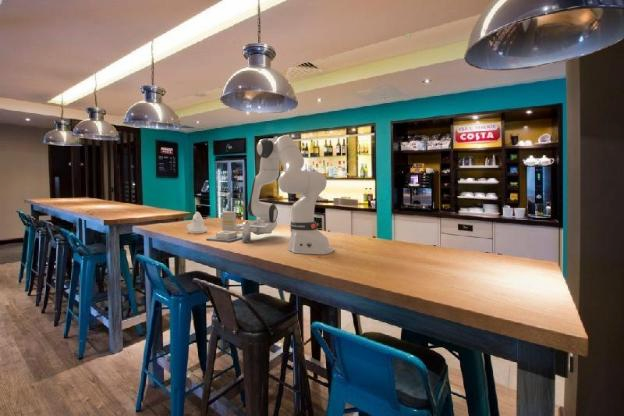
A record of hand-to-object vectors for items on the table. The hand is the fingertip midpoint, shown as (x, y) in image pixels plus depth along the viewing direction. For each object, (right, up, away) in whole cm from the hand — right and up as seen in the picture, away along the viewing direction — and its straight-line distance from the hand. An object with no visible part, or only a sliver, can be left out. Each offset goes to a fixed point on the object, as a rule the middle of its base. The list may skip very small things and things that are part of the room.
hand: (245, 230), depth 193 cm
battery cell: (0, -6, +1) cm, 6 cm away
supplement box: (-18, -4, +41) cm, 45 cm away
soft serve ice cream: (-38, -4, +37) cm, 53 cm away
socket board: (-13, -6, +11) cm, 18 cm away
